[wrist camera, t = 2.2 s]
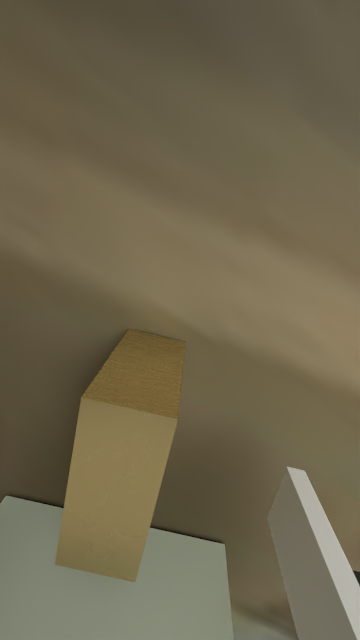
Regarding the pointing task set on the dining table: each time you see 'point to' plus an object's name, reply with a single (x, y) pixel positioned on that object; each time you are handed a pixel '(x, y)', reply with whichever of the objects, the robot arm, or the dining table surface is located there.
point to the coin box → (107, 586)
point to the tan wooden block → (121, 456)
